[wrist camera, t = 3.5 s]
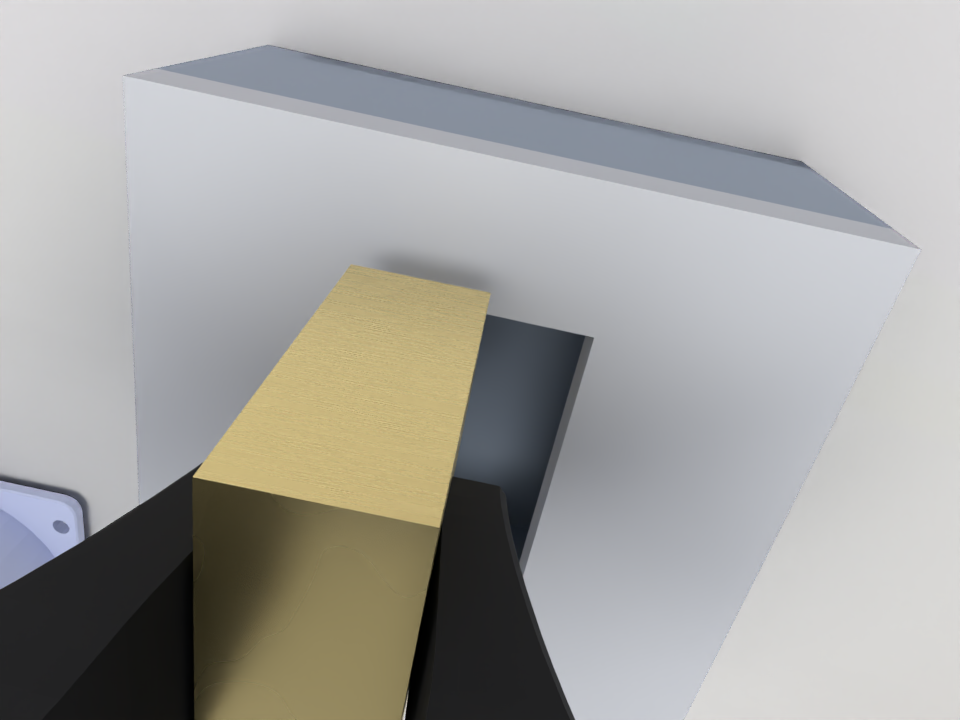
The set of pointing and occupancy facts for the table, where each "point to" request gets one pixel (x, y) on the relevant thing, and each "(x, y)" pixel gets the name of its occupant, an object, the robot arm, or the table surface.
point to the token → (333, 506)
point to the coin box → (521, 323)
